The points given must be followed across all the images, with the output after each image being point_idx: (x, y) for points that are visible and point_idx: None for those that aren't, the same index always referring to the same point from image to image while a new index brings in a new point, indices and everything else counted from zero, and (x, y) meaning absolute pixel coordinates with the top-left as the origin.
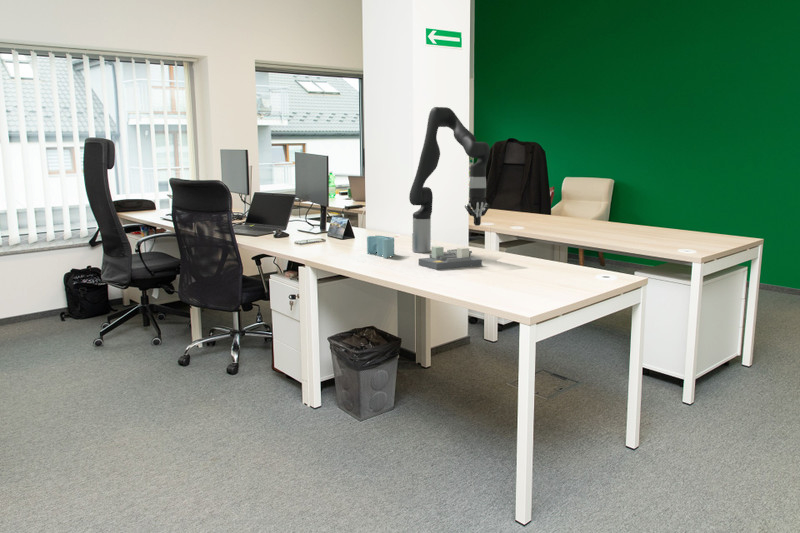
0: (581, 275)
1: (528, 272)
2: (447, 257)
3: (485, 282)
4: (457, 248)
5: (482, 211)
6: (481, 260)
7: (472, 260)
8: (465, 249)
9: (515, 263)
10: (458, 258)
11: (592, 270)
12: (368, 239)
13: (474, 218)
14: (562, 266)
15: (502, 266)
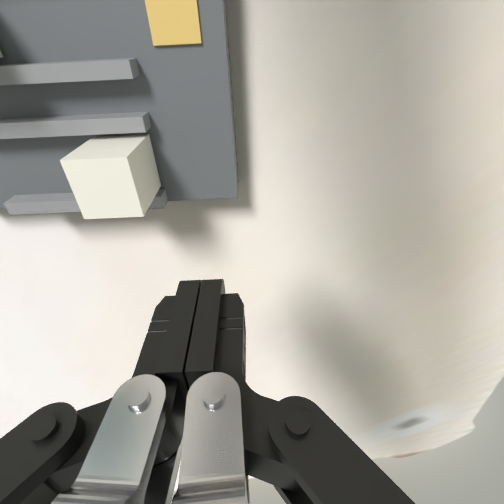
0: (384, 403)
1: (303, 345)
2: (19, 136)
3: (112, 391)
4: (64, 166)
5: (345, 498)
6: (235, 195)
7: (175, 200)
8: (115, 215)
9: (433, 188)
10: (79, 210)
11: (480, 377)
12: None
13: (143, 373)
14: (495, 312)
15: (315, 231)
